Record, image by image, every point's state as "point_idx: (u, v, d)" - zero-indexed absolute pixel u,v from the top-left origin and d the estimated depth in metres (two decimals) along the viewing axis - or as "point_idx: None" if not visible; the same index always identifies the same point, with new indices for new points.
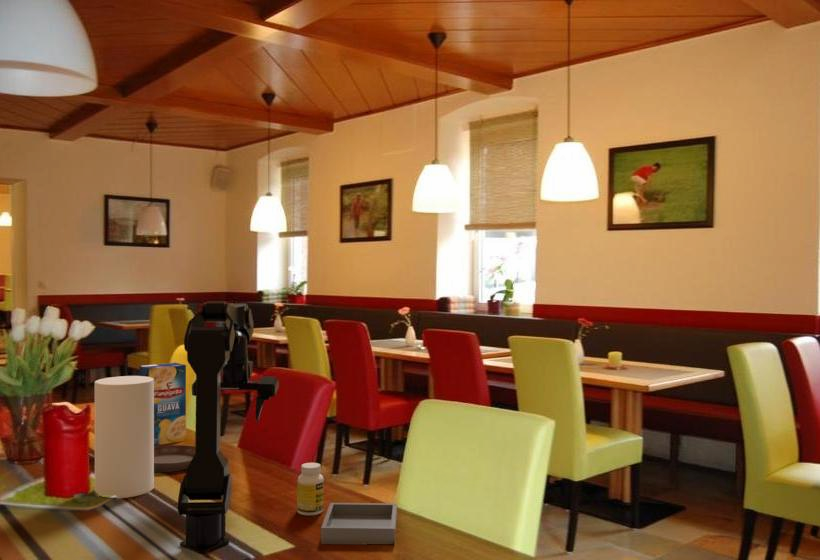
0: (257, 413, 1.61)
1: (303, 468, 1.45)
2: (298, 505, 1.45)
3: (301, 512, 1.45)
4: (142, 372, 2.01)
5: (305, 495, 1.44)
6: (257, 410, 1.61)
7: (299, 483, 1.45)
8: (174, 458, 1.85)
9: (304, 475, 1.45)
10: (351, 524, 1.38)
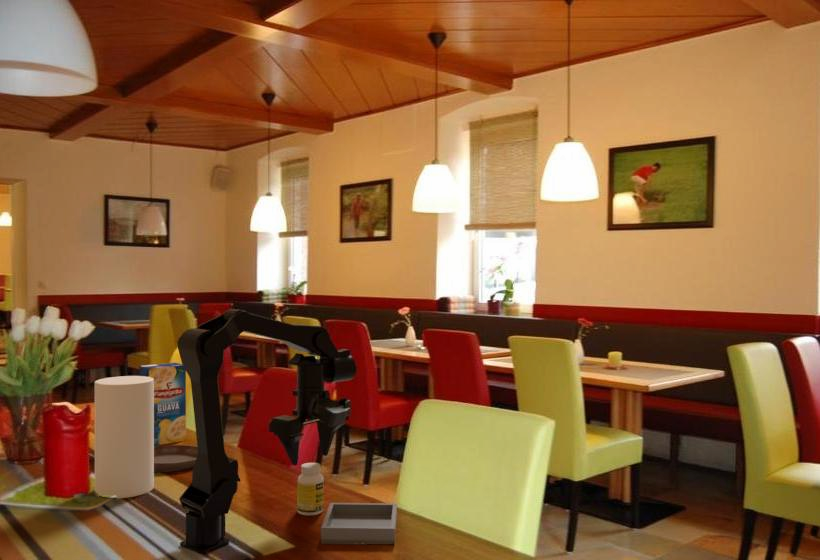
0: None
1: (303, 468, 1.45)
2: (298, 505, 1.45)
3: (301, 512, 1.45)
4: (142, 372, 2.01)
5: (305, 495, 1.44)
6: None
7: (299, 483, 1.45)
8: (174, 458, 1.85)
9: (304, 475, 1.45)
10: (351, 524, 1.38)
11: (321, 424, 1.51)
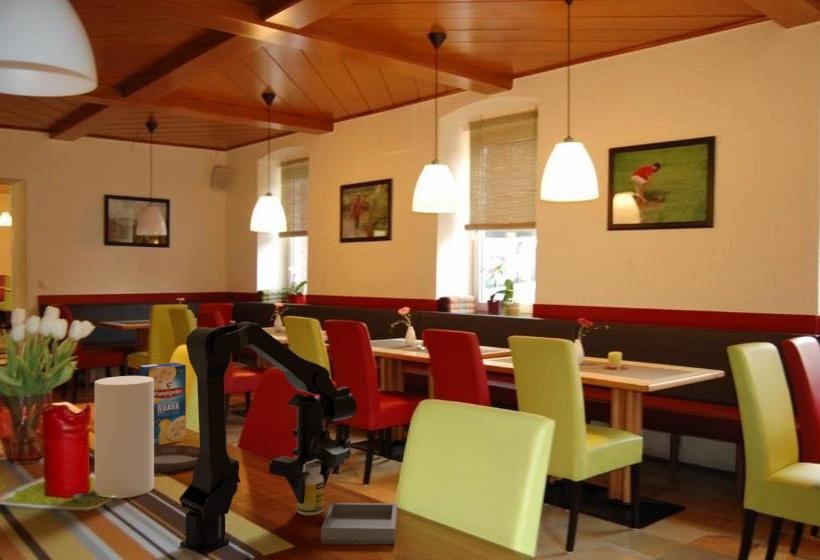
0: None
1: None
2: (298, 505, 1.45)
3: (301, 512, 1.45)
4: (142, 372, 2.01)
5: (305, 495, 1.44)
6: None
7: None
8: (174, 458, 1.85)
9: None
10: (351, 524, 1.38)
11: None
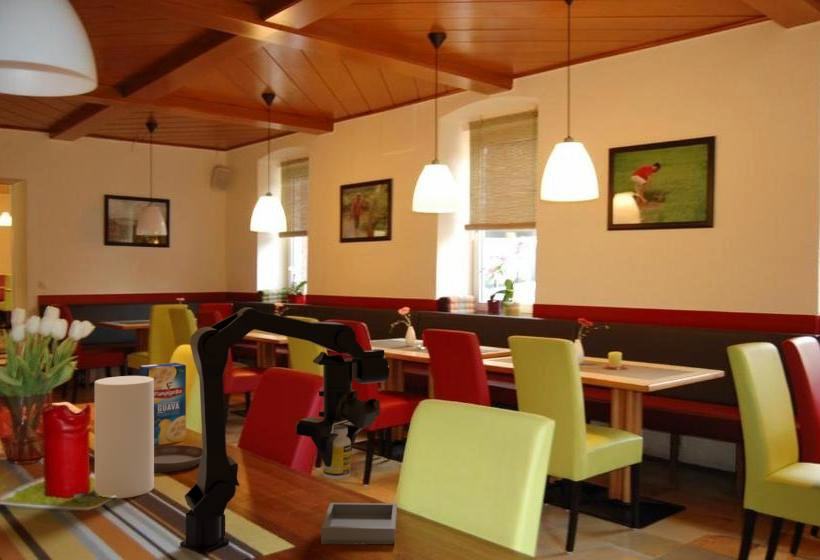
0: None
1: None
2: (325, 469, 1.40)
3: (328, 475, 1.39)
4: (142, 372, 2.01)
5: (332, 458, 1.39)
6: None
7: None
8: (174, 458, 1.85)
9: None
10: (351, 524, 1.38)
11: None
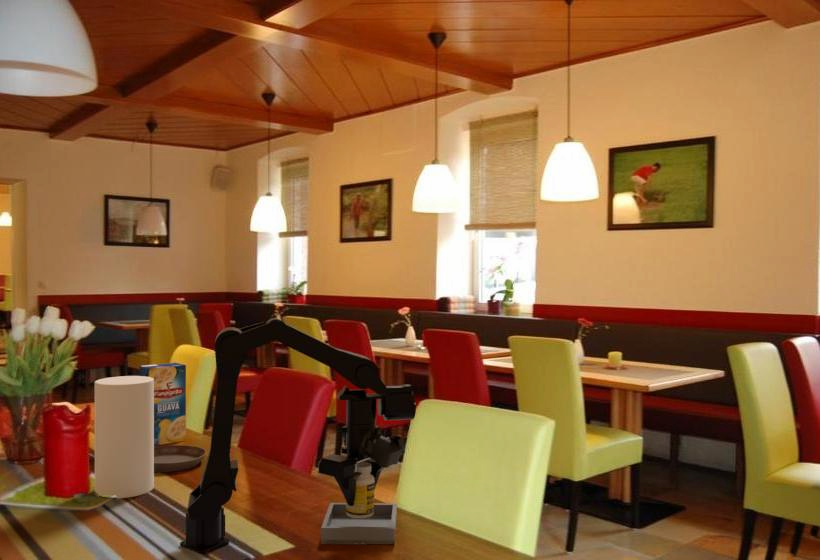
0: None
1: None
2: (348, 508, 1.35)
3: (351, 515, 1.34)
4: (142, 372, 2.01)
5: (355, 497, 1.34)
6: None
7: None
8: (174, 458, 1.85)
9: None
10: (351, 524, 1.38)
11: None
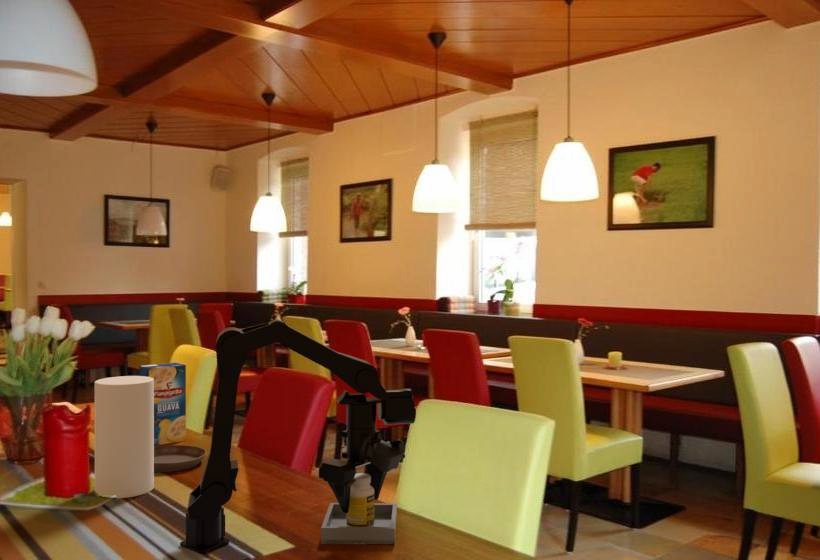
0: None
1: None
2: (348, 520, 1.35)
3: None
4: (142, 372, 2.01)
5: (355, 509, 1.34)
6: None
7: None
8: (174, 458, 1.85)
9: (354, 487, 1.35)
10: None
11: (371, 465, 1.41)
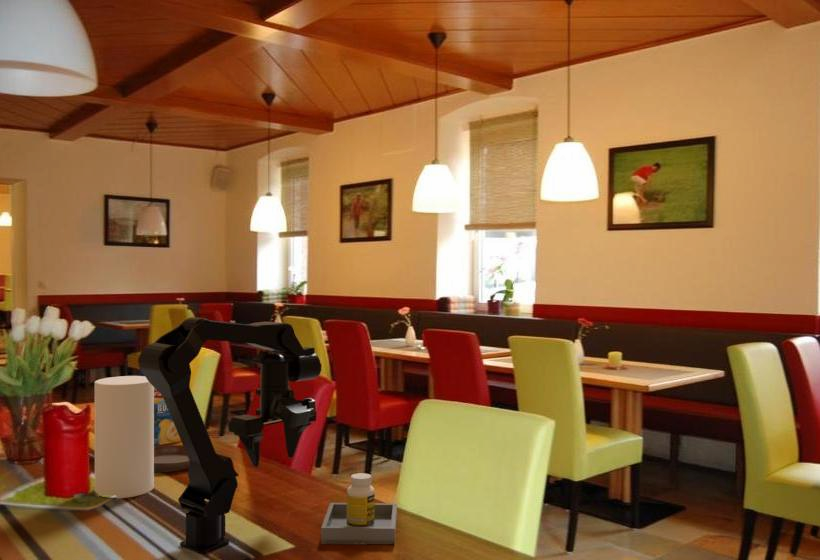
0: None
1: (353, 479, 1.35)
2: (349, 520, 1.35)
3: None
4: (142, 372, 2.01)
5: (356, 509, 1.34)
6: None
7: (349, 495, 1.35)
8: (174, 458, 1.85)
9: (354, 487, 1.35)
10: None
11: (288, 424, 1.47)
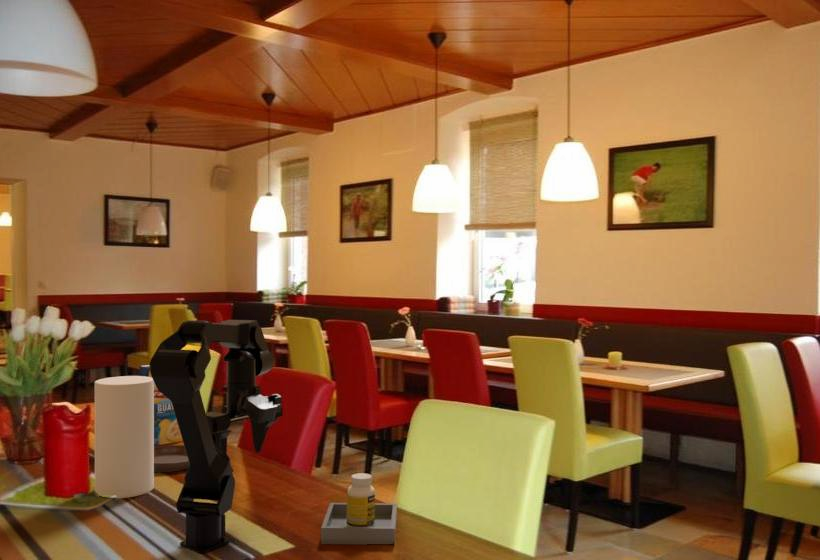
0: None
1: (354, 479, 1.35)
2: (349, 519, 1.35)
3: None
4: (142, 372, 2.01)
5: (356, 509, 1.34)
6: None
7: (349, 495, 1.35)
8: (174, 458, 1.85)
9: (355, 487, 1.35)
10: None
11: None
